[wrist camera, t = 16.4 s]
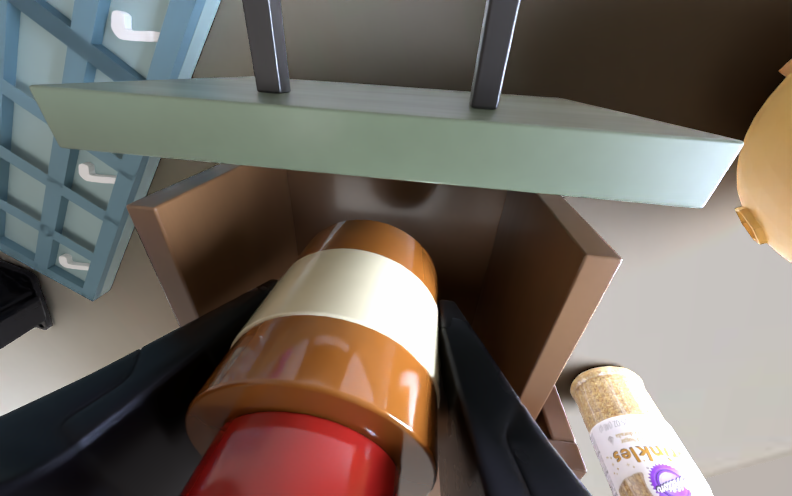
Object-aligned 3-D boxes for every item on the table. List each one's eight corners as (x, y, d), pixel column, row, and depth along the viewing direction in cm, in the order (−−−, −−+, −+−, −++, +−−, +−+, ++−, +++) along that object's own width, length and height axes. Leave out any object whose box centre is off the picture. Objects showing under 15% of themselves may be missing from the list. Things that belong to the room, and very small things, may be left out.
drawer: (225, -91, 10) (-252, -450, 3) (618, -79, 9) (1200, -554, 2) (292, 309, 20) (211, 442, 13) (488, 335, 19) (519, 494, 12)
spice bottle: (367, 347, 11) (302, 610, 6) (272, 269, 10) (67, 520, 4) (468, 292, 9) (512, 606, 4) (369, 185, 8) (217, 443, 2)
